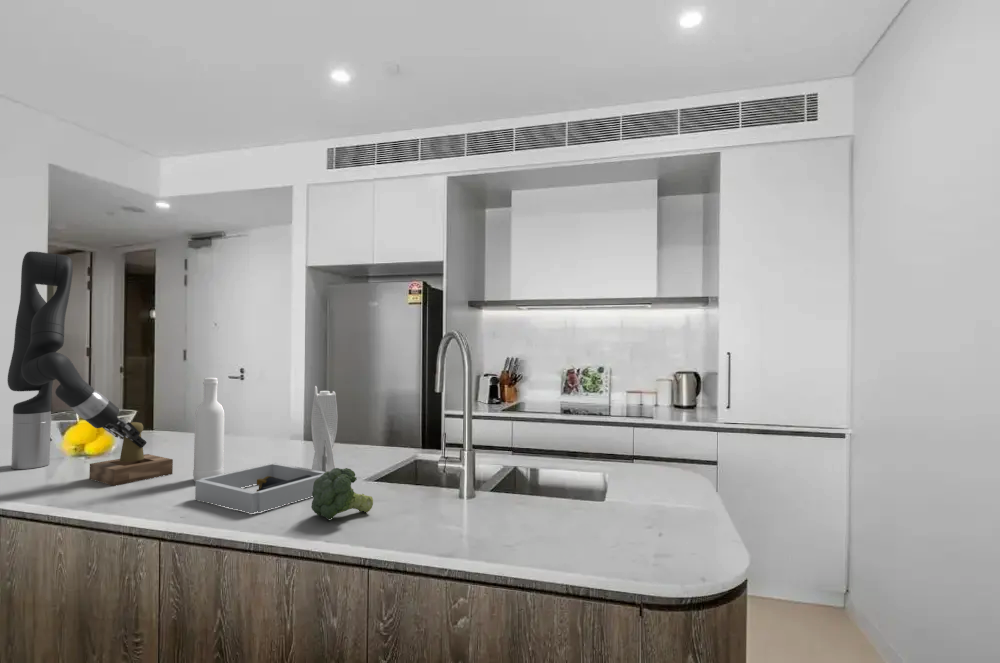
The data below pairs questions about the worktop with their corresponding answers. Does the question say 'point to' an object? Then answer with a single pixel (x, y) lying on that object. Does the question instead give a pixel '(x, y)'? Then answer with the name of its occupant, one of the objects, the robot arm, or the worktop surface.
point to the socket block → (130, 470)
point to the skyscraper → (324, 429)
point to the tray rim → (231, 494)
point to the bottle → (209, 434)
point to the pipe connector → (275, 482)
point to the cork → (132, 447)
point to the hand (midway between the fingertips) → (139, 444)
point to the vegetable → (337, 494)
